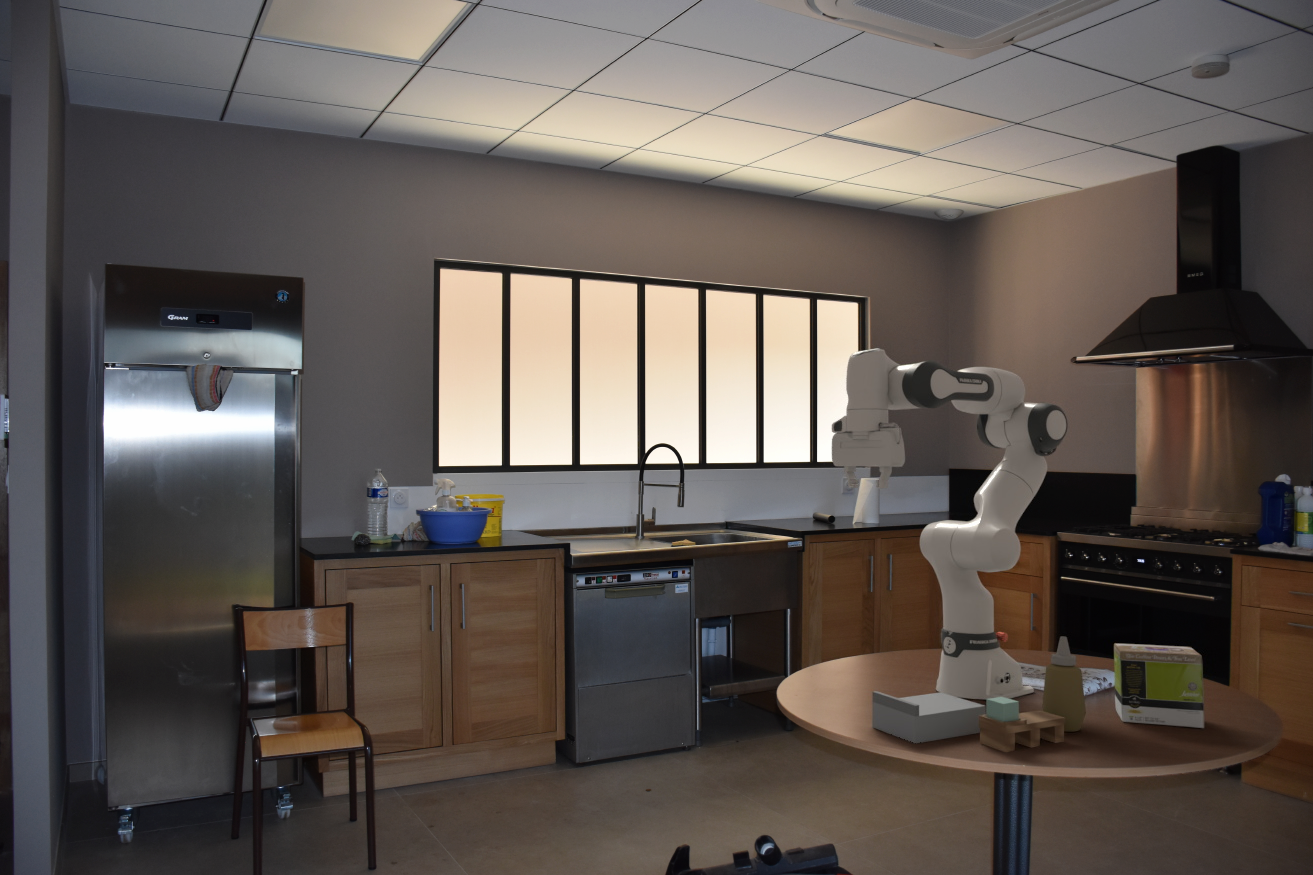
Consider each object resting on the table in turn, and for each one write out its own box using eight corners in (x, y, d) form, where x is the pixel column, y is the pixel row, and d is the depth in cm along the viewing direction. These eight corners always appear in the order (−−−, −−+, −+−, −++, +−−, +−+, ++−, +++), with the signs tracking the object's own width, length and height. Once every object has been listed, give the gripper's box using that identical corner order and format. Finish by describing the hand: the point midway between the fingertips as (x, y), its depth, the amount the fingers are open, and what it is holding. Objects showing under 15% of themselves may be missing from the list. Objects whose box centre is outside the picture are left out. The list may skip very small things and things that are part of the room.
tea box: (1193, 717, 194) (1193, 645, 195) (1204, 730, 185) (1204, 654, 185) (1113, 710, 199) (1113, 640, 200) (1120, 722, 190) (1120, 649, 190)
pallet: (1038, 732, 182) (1038, 705, 182) (1065, 741, 177) (1064, 713, 177) (978, 743, 175) (978, 715, 175) (1004, 752, 169) (1004, 723, 169)
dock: (940, 716, 193) (940, 682, 193) (985, 731, 182) (985, 695, 182) (872, 727, 185) (872, 691, 185) (915, 743, 174) (915, 705, 174)
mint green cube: (1001, 717, 176) (1001, 696, 176) (1018, 723, 173) (1018, 701, 173) (986, 720, 174) (986, 698, 174) (1003, 725, 171) (1003, 703, 171)
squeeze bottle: (1083, 736, 180) (1082, 642, 180) (1038, 729, 184) (1038, 637, 184) (1088, 726, 186) (1088, 635, 187) (1045, 720, 191) (1045, 631, 191)
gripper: (912, 422, 193) (912, 489, 193) (849, 425, 212) (849, 486, 211) (888, 421, 190) (888, 489, 190) (826, 425, 209) (826, 487, 208)
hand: (867, 488), depth 201 cm, fingers open, 8 cm apart
